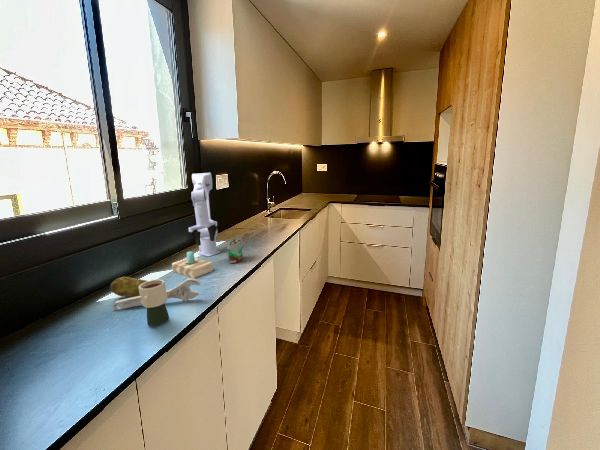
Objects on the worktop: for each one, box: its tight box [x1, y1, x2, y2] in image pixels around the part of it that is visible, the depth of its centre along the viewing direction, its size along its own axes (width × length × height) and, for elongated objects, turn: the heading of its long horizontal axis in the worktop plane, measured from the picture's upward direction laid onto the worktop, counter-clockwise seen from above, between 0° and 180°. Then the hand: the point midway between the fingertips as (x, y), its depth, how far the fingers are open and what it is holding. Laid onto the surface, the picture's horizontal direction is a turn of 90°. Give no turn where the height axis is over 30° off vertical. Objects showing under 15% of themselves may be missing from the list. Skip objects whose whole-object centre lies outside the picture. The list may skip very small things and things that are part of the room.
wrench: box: [112, 277, 201, 311], centre depth 100 cm, size 8×2×30 cm
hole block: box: [171, 257, 214, 279], centre depth 130 cm, size 16×10×4 cm, turn 53°
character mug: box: [139, 279, 170, 327], centre depth 88 cm, size 11×7×13 cm, turn 4°
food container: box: [226, 237, 244, 265], centre depth 140 cm, size 12×6×10 cm, turn 179°
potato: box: [109, 276, 148, 298], centre depth 107 cm, size 8×13×8 cm, turn 98°
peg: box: [186, 251, 196, 265], centre depth 129 cm, size 3×3×9 cm
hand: (205, 243), depth 137 cm, fingers open, 7 cm apart
